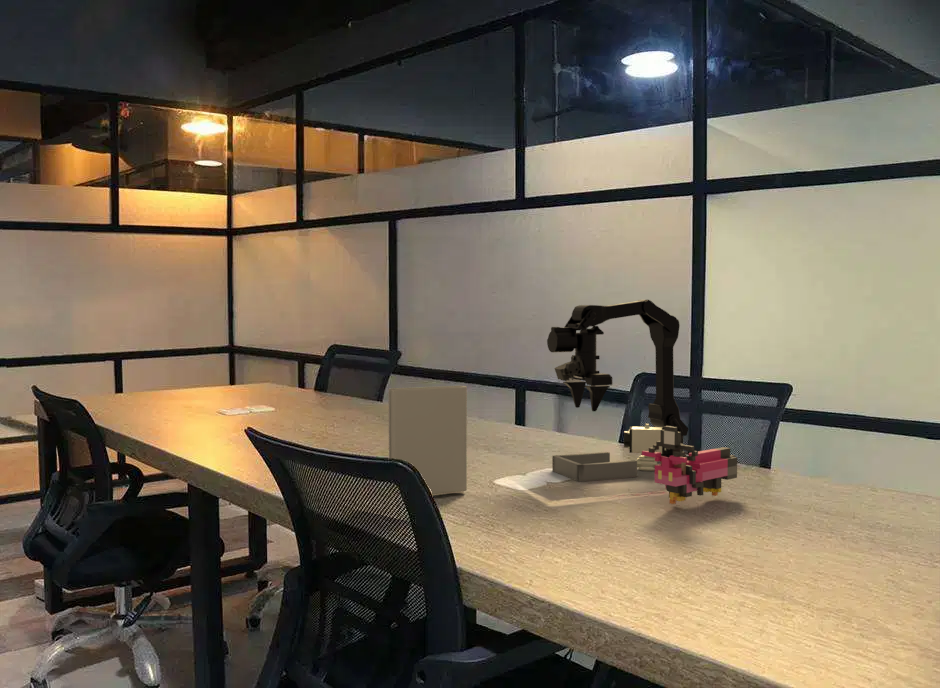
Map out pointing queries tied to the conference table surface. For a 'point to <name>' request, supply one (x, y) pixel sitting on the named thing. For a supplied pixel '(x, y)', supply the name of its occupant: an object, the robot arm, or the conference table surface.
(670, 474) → the figurine
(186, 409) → the conference table surface
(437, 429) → the book
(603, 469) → the housing bay
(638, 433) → the pneumatic valve
